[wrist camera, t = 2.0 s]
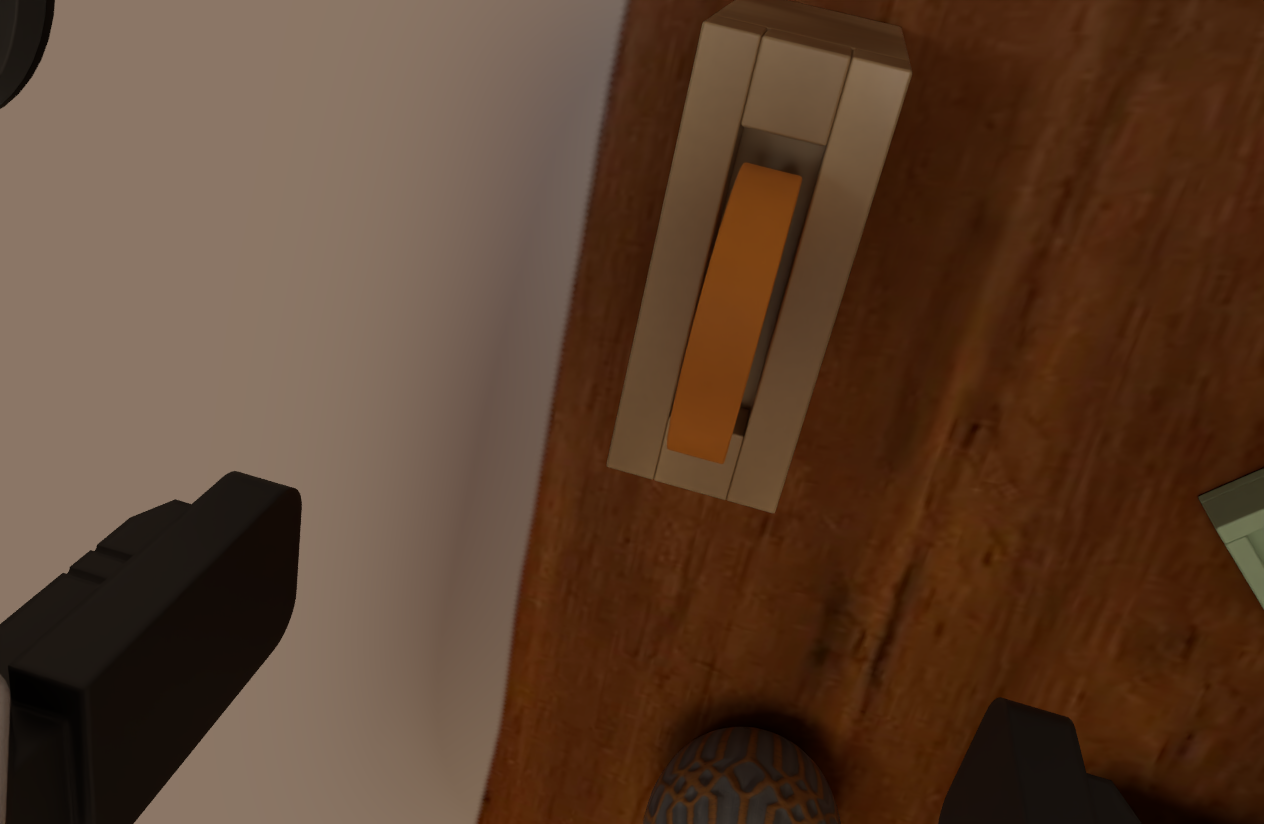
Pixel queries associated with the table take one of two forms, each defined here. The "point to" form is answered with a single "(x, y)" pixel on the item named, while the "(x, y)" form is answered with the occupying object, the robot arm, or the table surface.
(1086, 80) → the table surface
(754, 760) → the vase
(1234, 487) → the tray
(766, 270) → the token
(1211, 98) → the table surface
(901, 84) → the holder
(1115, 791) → the robot arm
